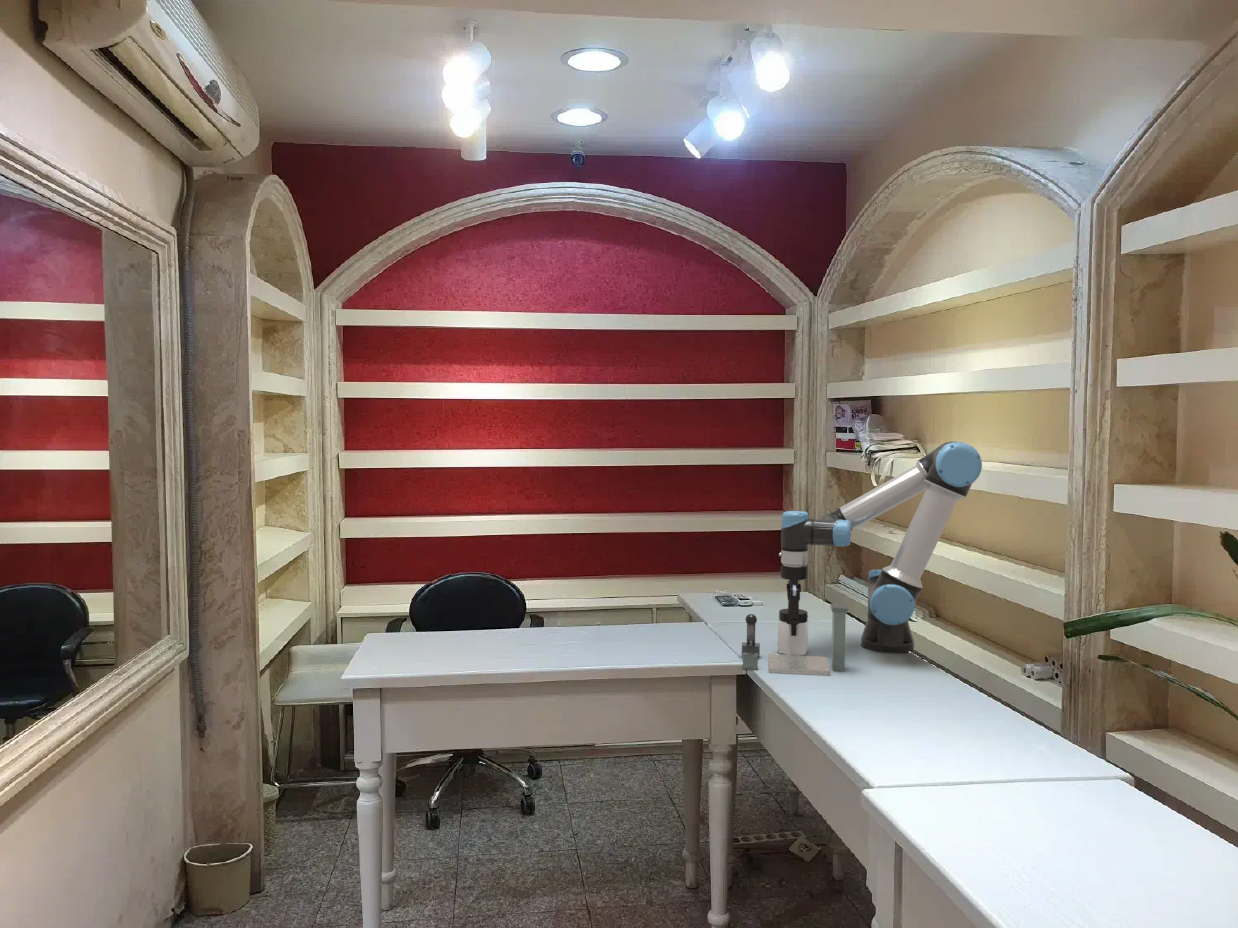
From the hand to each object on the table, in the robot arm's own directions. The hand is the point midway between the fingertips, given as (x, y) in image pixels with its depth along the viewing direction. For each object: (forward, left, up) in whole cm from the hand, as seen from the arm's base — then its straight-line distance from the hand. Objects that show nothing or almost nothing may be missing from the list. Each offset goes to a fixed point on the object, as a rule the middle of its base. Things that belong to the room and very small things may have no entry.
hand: (792, 642), depth 254 cm
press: (0, +14, -3) cm, 14 cm away
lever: (+12, +7, -2) cm, 14 cm away
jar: (0, 0, -3) cm, 3 cm away
